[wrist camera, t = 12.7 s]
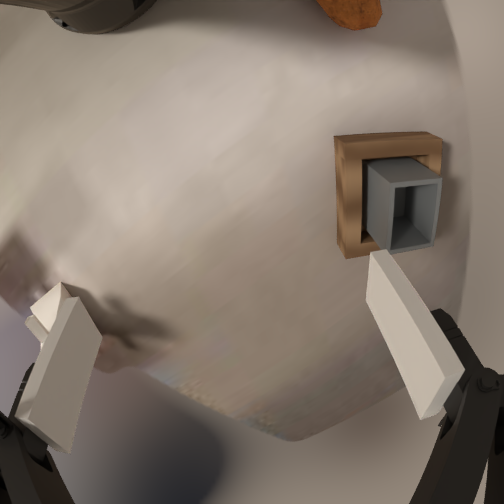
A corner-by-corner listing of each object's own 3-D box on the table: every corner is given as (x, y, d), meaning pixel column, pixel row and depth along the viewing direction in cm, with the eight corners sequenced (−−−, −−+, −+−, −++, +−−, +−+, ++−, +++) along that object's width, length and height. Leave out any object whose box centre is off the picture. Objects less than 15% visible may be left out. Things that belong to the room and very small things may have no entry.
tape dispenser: (75, 341, 52) (53, 399, 40) (31, 286, 45) (-4, 343, 33) (107, 333, 51) (88, 396, 39) (62, 273, 44) (26, 335, 32)
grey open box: (361, 160, 37) (390, 183, 30) (409, 156, 37) (442, 177, 30) (361, 223, 42) (385, 255, 35) (405, 216, 41) (433, 246, 35)
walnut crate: (333, 136, 36) (344, 143, 32) (426, 131, 36) (442, 139, 32) (337, 243, 44) (345, 259, 41) (418, 230, 44) (431, 243, 41)
